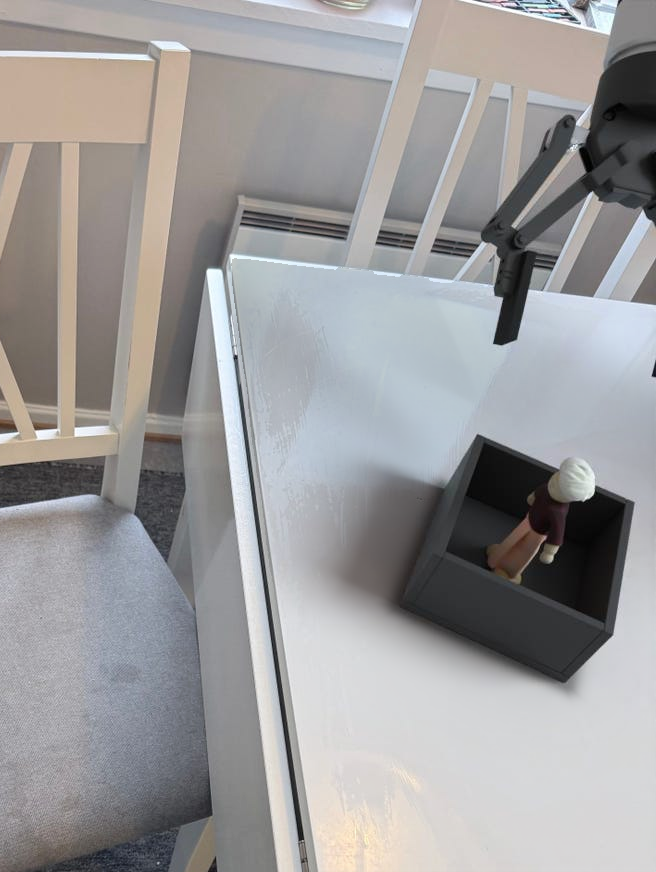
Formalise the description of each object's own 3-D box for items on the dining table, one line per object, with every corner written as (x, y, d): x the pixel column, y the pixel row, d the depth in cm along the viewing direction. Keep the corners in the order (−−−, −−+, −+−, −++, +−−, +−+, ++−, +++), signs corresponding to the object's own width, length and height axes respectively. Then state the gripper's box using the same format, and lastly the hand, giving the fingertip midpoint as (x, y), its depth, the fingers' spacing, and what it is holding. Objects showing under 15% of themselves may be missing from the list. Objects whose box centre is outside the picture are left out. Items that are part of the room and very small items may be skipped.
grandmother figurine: (470, 537, 77) (543, 428, 67) (509, 539, 78) (587, 432, 68) (496, 605, 73) (578, 500, 63) (537, 607, 74) (625, 503, 64)
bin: (591, 553, 80) (635, 501, 75) (565, 683, 70) (613, 635, 65) (444, 488, 82) (477, 433, 76) (399, 606, 72) (433, 553, 67)
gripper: (769, 129, 70) (700, 394, 73) (477, 59, 68) (418, 336, 71) (846, 86, 63) (766, 382, 66) (521, 6, 60) (454, 317, 63)
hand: (585, 359), depth 68 cm, fingers open, 13 cm apart
